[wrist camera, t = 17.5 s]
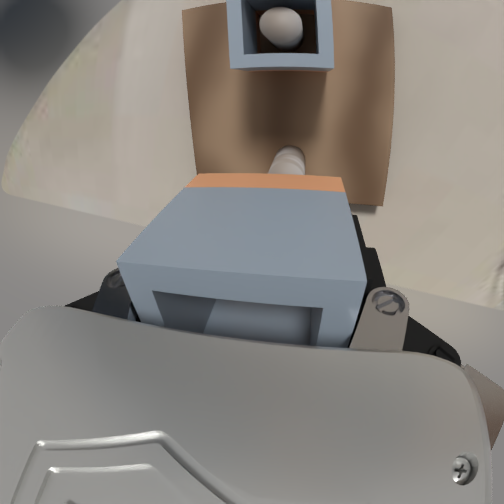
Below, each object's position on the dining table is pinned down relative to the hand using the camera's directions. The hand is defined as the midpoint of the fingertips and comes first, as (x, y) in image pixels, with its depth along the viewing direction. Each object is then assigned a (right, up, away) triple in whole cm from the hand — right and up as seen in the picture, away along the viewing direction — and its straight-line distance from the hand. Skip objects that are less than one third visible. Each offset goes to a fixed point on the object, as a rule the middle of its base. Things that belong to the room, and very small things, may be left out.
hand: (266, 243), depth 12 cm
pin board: (+2, +12, +8) cm, 15 cm away
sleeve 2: (0, 0, +1) cm, 1 cm away
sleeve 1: (+2, +15, +4) cm, 16 cm away
